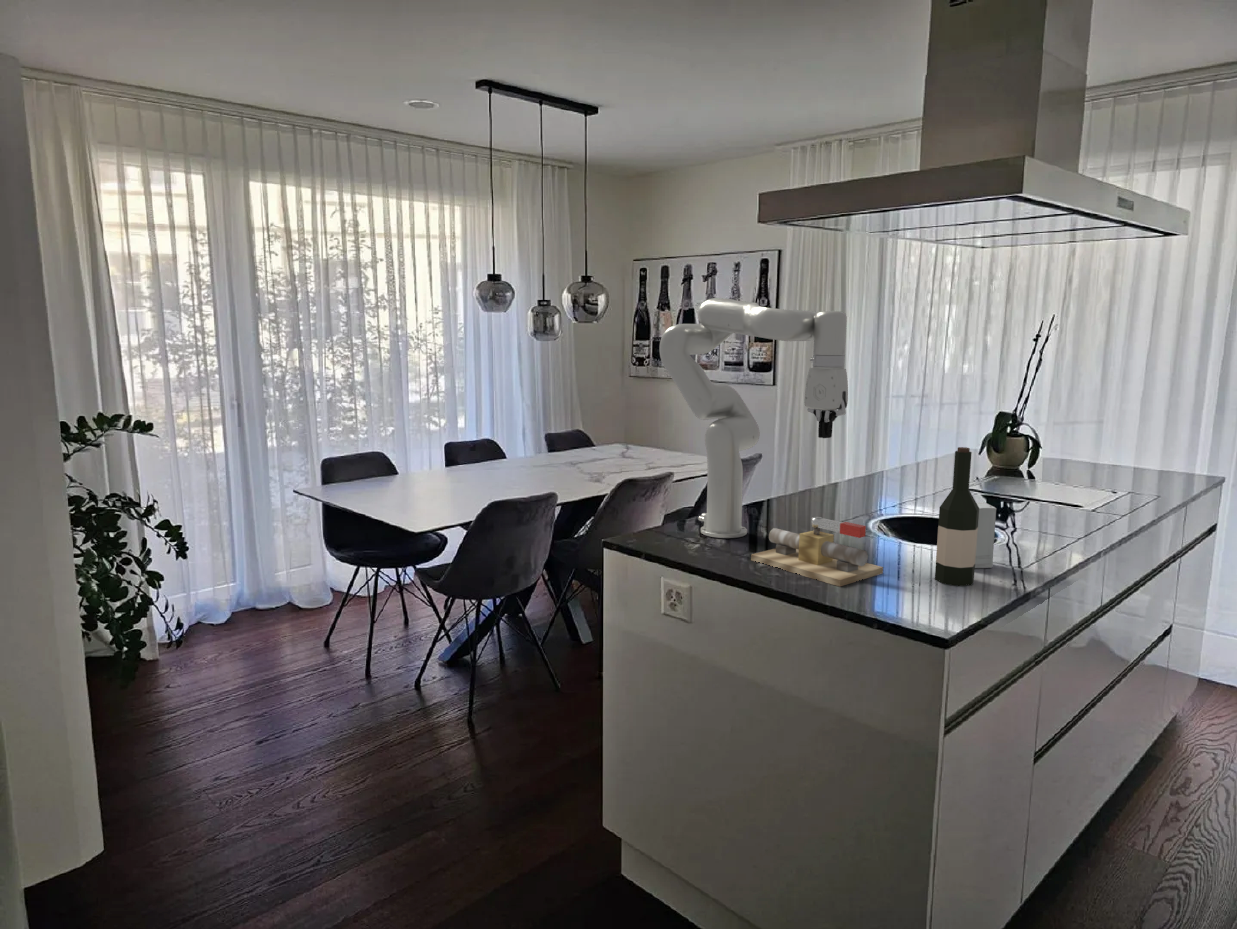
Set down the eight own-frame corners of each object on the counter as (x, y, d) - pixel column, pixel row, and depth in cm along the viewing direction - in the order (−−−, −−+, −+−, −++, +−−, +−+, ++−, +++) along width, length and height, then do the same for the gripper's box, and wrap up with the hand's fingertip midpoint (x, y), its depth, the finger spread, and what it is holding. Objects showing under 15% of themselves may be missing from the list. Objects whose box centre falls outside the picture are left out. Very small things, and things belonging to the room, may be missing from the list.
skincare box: (981, 561, 201) (985, 501, 198) (993, 569, 195) (998, 507, 192) (947, 562, 200) (951, 502, 198) (958, 569, 194) (963, 507, 192)
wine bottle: (960, 588, 180) (970, 451, 175) (926, 579, 187) (935, 447, 182) (981, 581, 185) (992, 448, 180) (948, 572, 191) (957, 444, 186)
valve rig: (751, 560, 201) (752, 522, 200) (794, 549, 211) (795, 513, 209) (839, 586, 181) (841, 544, 179) (882, 573, 191) (885, 533, 189)
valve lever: (859, 538, 184) (859, 527, 184) (809, 527, 195) (809, 517, 194) (865, 536, 186) (866, 525, 186) (815, 525, 196) (816, 515, 196)
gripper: (794, 361, 205) (791, 435, 208) (844, 364, 193) (840, 442, 196) (813, 361, 210) (810, 433, 213) (863, 363, 198) (859, 439, 201)
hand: (824, 437), depth 205 cm, fingers closed
